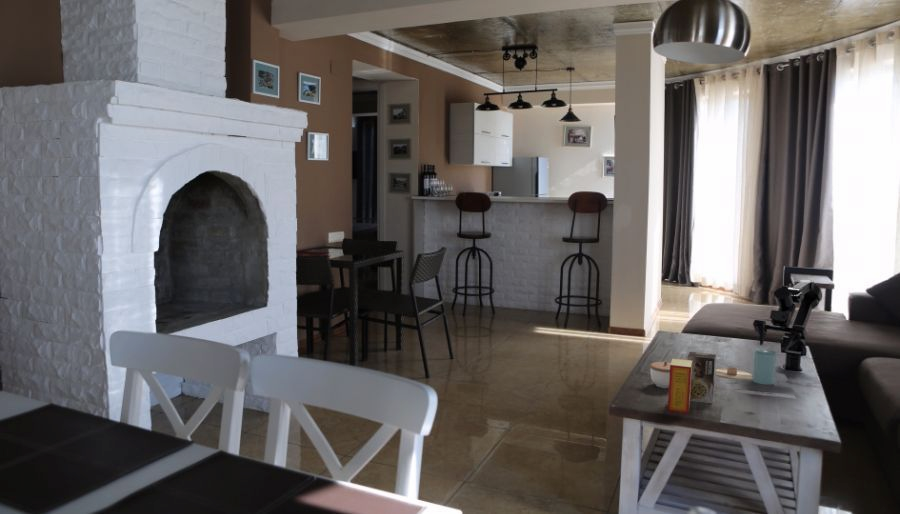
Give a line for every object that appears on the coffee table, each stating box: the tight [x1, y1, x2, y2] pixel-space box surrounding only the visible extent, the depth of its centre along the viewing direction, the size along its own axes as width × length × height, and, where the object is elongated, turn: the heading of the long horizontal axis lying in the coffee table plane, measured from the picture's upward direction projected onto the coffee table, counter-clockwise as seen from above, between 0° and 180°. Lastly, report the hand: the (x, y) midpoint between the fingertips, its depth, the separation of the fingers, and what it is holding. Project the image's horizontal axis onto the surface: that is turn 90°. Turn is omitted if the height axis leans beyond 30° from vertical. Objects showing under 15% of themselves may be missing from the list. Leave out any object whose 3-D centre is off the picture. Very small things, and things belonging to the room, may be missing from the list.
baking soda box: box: [667, 357, 692, 414], centre depth 234 cm, size 10×6×16 cm
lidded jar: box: [650, 360, 671, 389], centre depth 259 cm, size 11×11×9 cm
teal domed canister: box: [752, 348, 777, 385], centre depth 263 cm, size 7×7×13 cm
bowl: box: [726, 366, 738, 375], centre depth 273 cm, size 4×4×3 cm
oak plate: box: [715, 368, 753, 381], centre depth 273 cm, size 15×15×1 cm
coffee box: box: [687, 351, 717, 405], centre depth 243 cm, size 9×6×16 cm
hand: (773, 346), depth 268 cm, fingers open, 9 cm apart
